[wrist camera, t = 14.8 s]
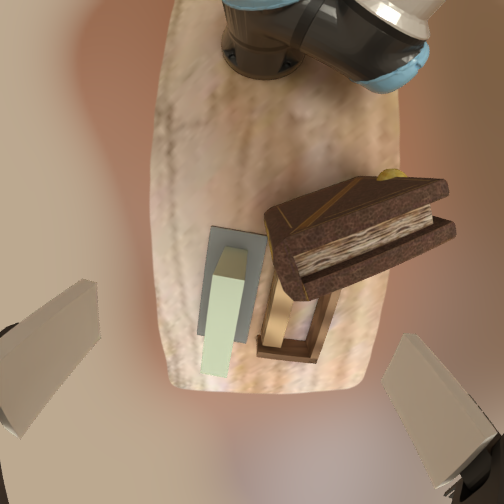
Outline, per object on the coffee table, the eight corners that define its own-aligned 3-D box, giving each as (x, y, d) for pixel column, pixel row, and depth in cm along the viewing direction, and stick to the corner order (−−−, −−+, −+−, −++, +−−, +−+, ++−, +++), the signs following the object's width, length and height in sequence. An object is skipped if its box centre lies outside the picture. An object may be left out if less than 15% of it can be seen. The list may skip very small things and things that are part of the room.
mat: (211, 225, 48) (210, 226, 47) (267, 235, 49) (267, 236, 48) (197, 332, 54) (196, 334, 53) (246, 341, 54) (246, 343, 53)
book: (275, 250, 49) (293, 317, 25) (258, 205, 47) (261, 233, 23) (384, 209, 47) (473, 238, 23) (371, 166, 45) (460, 161, 21)
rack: (278, 242, 49) (281, 250, 43) (338, 253, 49) (348, 263, 43) (256, 339, 54) (256, 356, 48) (310, 346, 54) (316, 363, 49)
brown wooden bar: (278, 252, 49) (281, 261, 44) (297, 255, 49) (302, 264, 44) (260, 332, 54) (261, 347, 48) (277, 335, 54) (279, 350, 48)
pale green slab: (225, 246, 48) (212, 274, 34) (247, 250, 48) (244, 280, 34) (213, 324, 52) (200, 373, 38) (233, 328, 52) (226, 377, 38)
